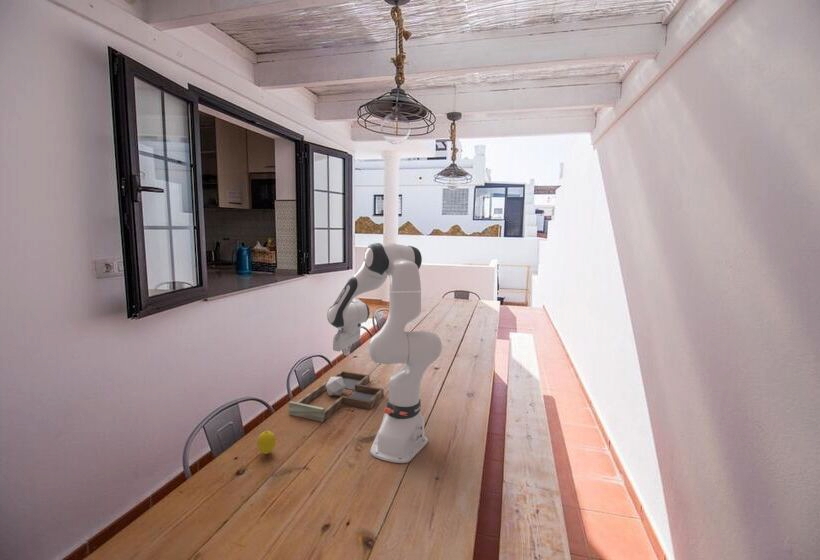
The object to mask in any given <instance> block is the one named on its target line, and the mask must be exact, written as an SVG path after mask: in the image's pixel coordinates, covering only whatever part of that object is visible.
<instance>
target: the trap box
mask: <svg viewBox="0 0 820 560" xmlns="http://www.w3.org/2000/svg"><path fill="white" fill-rule="evenodd" d="M332 377H342V378H349V379H354V380H360V381H359V382H358V383H357V384H356V385H355V390H354V392H355V391H356V392H362V393H367V394H373V395H374V396H373V397H372V398H371V399H370V400H369V401H367V400H362V399H357V398H351V397H349V396H345V395H341V396H339V398H338V399H336V400H335V401H334V402H333V403H331V404H330V405H329V406H327V408H325V407H321V406H316V405H312V404H309V402H311V401H312V400H314V399H315V398H317V397H318V396H319V395H321V394H322V393H324V392H325V391H327V389H326V384H327V382H328V381H329V379H327V380H326V381H324V382H323V383H322V384H320V385H319V386H317V387H315V388H314V389H313V390H312V391H310V392H309V393H307V394H305V395H304V396H302V397H301V398H299V400H297V401H293V400H292V401H288V415H290V416H296V417H301V418H304V419H310V420H314V421H318V422H322V423H323V422H324V421H326V420H327V419H328V418H329V417H330V416H331V415H332V414H333V413H335V412H336V411H337V410H338V409H339V408H341V407H342V406H343V405H346V406H352V407H357V408H362V409H367V410H371V409H372V408H373V407H374V406H376V404H377V403H378V402H379V401H380V400H381V398H382V397H383V396H384V395H385V393H384V391H385V389H384V388H380V387H375V386H369V385H367V384H368V383H369V382H370V374H364V373H358V372H352V371H345V370H340V371H339V372H338V373H336V374H335V375H333V376H332Z"/></svg>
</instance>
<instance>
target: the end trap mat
mask: <svg viewBox="0 0 820 560" xmlns="http://www.w3.org/2000/svg"><path fill="white" fill-rule="evenodd" d="M343 381H344V383H345V386H346V387H345V389H347V390H351V391H355V385H356V384H357V383H358V382H359V381H360V380H354V379H349V378H343ZM345 389H344V390H345Z"/></svg>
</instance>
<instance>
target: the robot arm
mask: <svg viewBox="0 0 820 560" xmlns="http://www.w3.org/2000/svg"><path fill="white" fill-rule="evenodd" d="M363 258H364V259H363V263H362V265H361V267H360V268H359V270H358V271H357V272H356V273H355V274H354V275H352V277H350V278H349V279H348V280H347V281H346V283H345V284H344V286H343V288H342V290H341V291H340V293H339V294H338V296H337V297H336V299H335V301H334V302H333V303H332V304H331V306H330V307H329V308H328V310H327V313H326V314H327V316H326V317H327V321H328V323H329V325H332V326H333V327H335V328H337V330H336V332H335V334H334V335H333V339H332V341H333V342H332V350H333V351H335V352H343V356H348V355H350V354H351V349H352V345H353V344H355V343H357V342H358V341H359V340H360V338H361V327H362V324H364V323H366V322H367V321H369V319H370V318H369V317H370V307H369V305H368V304H367V303H366V302H363V301H361V299H360V298H358V296H359V295H362V294H364V293H367V292H371V291H374V290H377V289H379V288H380V287H381V286H382V285H383V284H384V283H385V282H386V280H387V278H388V276H389V305H388V314H387V318H386V320H385V322H384V324H383V326H382V327H381V328H380V330H378V331H377V332H376V333H375V334H374V335H373V336H372V337H371V338H370V340H369V342H368V354H369V357H370V358H371V360H372V361H373V362H374V363H378V364H383V365H396V364H398V365H399V364H404V365H403V367H402V368H401V369H399V370H398V371H395V372H394V373H393V374H391V376H390V378H389V379H388V398H387V400H386V405H385V407H384V409H383V418H382V421H381V424H380V427H379V429H378V431H377V433H376V436H375V438H374V440H373V443H372V445H371V448H370V451H369V454H370V455H371V456H372V457H374V458H377V459H379V460H382V461H385V462H390V463H395V464H396V463H398V464H406V463H409V462H411V460H413V458H414V457H415V456H416V455H417V454H418V453H419V452H420V451H421V450H422V449H423V448H425V446H426V445H427V444H428V443H429V439H428V437H427V436H426V435H425V418H424V416H423V414H422V413H421V407H422V403H421V399H420V392H421V384H422V379H423V376H424V374H425V373H426V370H427V369H428V368H429V367H430V366H431V364H432V363H434V362H436V361H437V360H438V359H439V357H440V356H441V353H442V349H443V343H442V341H441V340H442V339H440V337H439V336H438V334H437V333H435V332H430V331H425V330H424V331H423V330H419V331H417V330H415V331H414V330H413V331H409V330H408V331H405V328H406V326H407V325H408V324H409V323H411V322H412V321H415V320H416V319H418V317H419V316H420V314H421V313H422V284H421V283H422V282H421V276H420V271H419V270H420V268H421V265H422V261H423V260H422V259H423V257H422V253H421V251H420V250H419V249H418V247H415V246H412V245H404V244H399V243H398V244H397V243H390V242H387V243H384V242H383V243H380V242H376V243H371V244H369V245H368V246H367V247H366V249H365V251H364V257H363Z"/></svg>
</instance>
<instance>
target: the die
mask: <svg viewBox="0 0 820 560" xmlns="http://www.w3.org/2000/svg"><path fill="white" fill-rule="evenodd" d="M328 380H329V381H328V382H327V384H326V391H327V394H328V396H331V397H332V396H333V397H335V396H339V397H341V396H342V395H343V392H344V390H345V387H346V386H345V383H344V381H343V378H342V377H333V376H330V377H329V379H328Z"/></svg>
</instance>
